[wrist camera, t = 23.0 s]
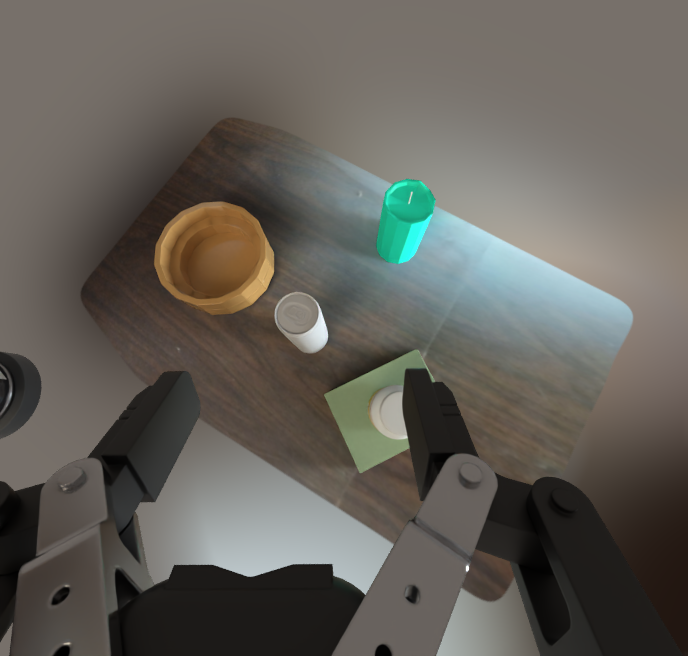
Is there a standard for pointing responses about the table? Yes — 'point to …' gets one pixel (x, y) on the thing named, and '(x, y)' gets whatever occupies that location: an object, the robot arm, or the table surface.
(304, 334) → the beverage can
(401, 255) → the candle
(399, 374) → the book
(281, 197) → the table surface
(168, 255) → the bowl
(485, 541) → the robot arm
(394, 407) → the supplement bottle
